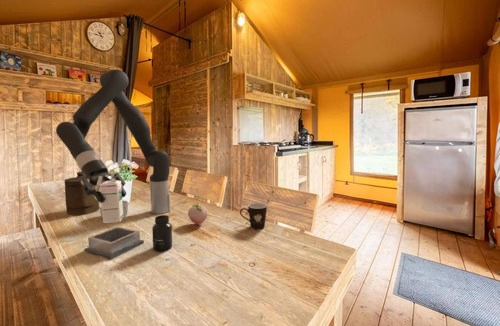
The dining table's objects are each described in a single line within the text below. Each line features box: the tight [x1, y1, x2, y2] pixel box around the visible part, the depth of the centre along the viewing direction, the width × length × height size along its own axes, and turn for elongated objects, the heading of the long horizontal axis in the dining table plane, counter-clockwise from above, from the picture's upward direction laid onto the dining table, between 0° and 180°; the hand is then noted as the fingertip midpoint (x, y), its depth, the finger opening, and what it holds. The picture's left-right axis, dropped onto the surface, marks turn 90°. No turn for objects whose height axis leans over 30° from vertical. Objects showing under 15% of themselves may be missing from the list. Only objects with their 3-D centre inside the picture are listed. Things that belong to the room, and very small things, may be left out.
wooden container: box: [64, 170, 100, 216], centre depth 134 cm, size 15×15×22 cm
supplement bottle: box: [151, 214, 173, 253], centre depth 91 cm, size 7×7×12 cm
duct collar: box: [84, 226, 145, 260], centre depth 92 cm, size 14×14×5 cm
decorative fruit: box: [187, 203, 209, 225], centre depth 115 cm, size 9×8×10 cm
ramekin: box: [99, 199, 130, 219], centre depth 126 cm, size 13×13×7 cm
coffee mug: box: [239, 202, 268, 230], centre depth 113 cm, size 12×9×10 cm
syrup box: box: [99, 180, 125, 224], centre depth 90 cm, size 6×6×14 cm
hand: (114, 198), depth 90 cm, fingers closed on syrup box, 8 cm apart
